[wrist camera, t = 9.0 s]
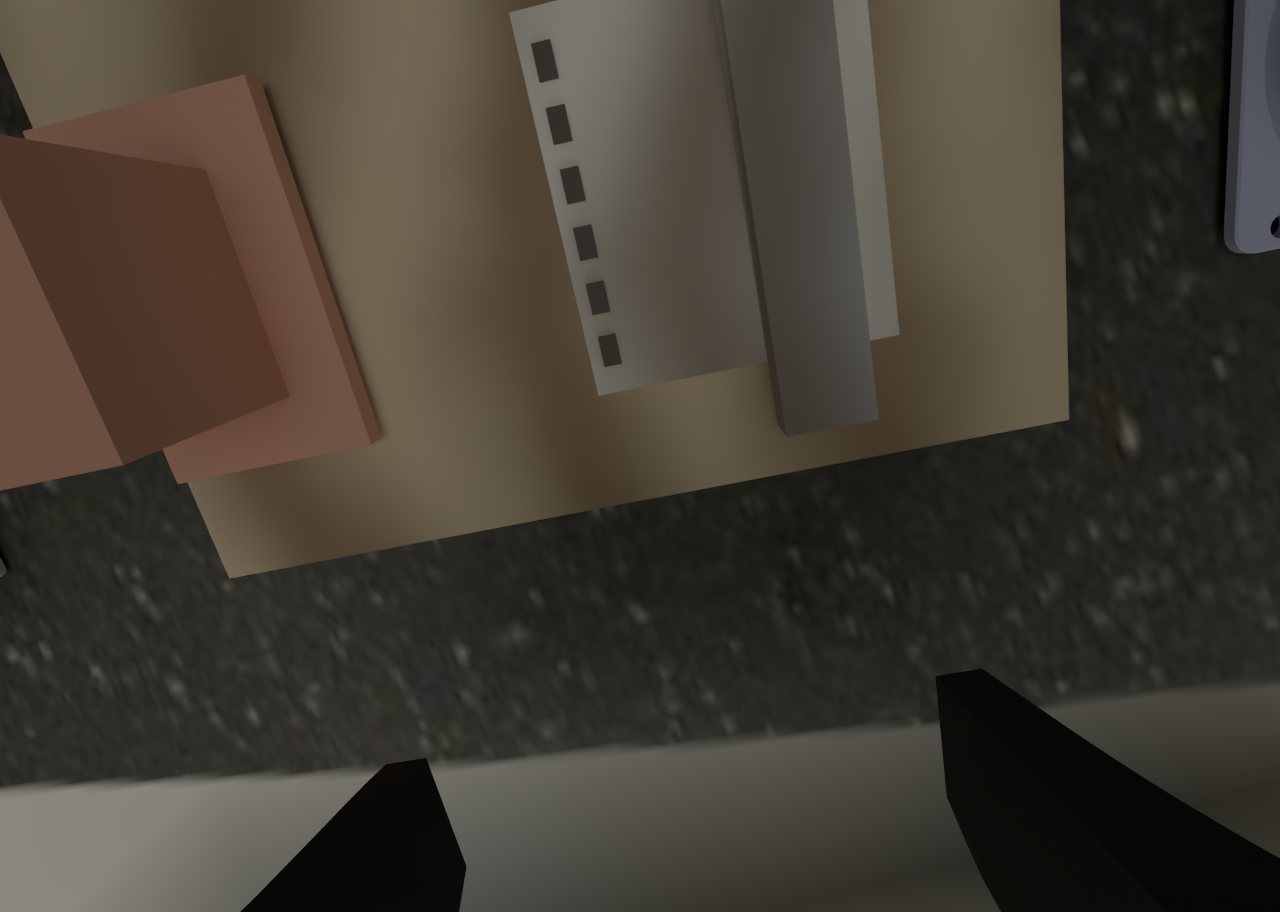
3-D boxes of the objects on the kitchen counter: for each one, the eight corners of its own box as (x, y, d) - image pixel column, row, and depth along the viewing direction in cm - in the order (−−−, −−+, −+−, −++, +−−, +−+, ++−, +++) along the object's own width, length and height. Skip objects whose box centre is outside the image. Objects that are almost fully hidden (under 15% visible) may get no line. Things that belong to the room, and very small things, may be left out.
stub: (261, 81, 14) (14, -22, 9) (381, 437, 16) (245, 532, 11) (47, 136, 15) (-315, 70, 9) (194, 475, 17) (-26, 585, 11)
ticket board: (1024, -271, 13) (1118, -403, 10) (1046, 410, 17) (1118, 440, 14) (16, 6, 15) (-123, -47, 12) (251, 561, 19) (184, 613, 16)
